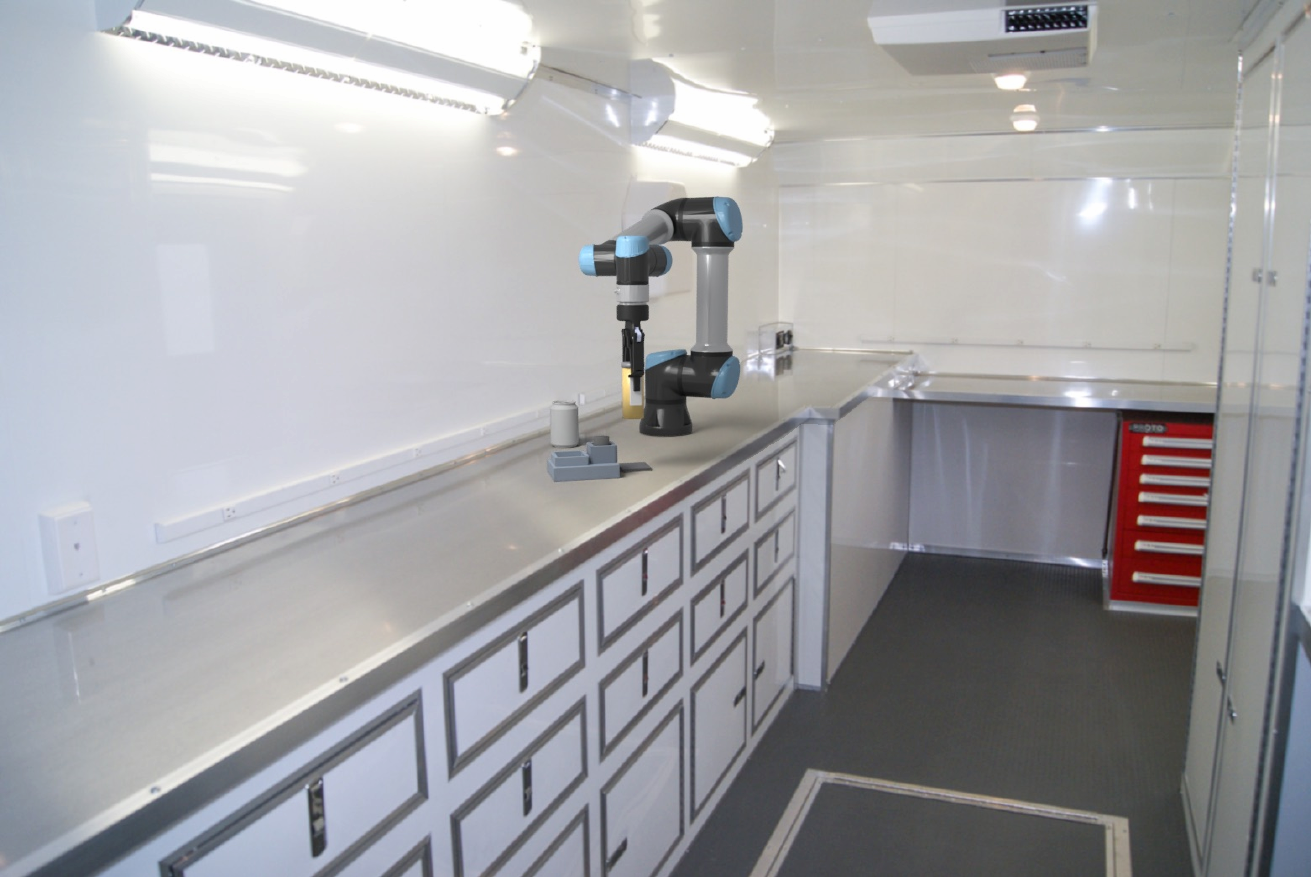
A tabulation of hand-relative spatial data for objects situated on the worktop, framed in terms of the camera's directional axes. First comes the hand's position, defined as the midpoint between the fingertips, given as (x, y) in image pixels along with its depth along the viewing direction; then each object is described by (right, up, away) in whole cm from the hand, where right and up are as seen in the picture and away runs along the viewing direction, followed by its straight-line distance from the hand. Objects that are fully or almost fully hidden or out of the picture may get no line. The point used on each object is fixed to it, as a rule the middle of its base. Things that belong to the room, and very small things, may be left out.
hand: (633, 403), depth 243 cm
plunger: (-7, -13, -4) cm, 15 cm away
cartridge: (0, -3, +1) cm, 3 cm away
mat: (0, -15, +3) cm, 16 cm away
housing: (-12, -17, -4) cm, 21 cm away
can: (-19, -10, +31) cm, 38 cm away
